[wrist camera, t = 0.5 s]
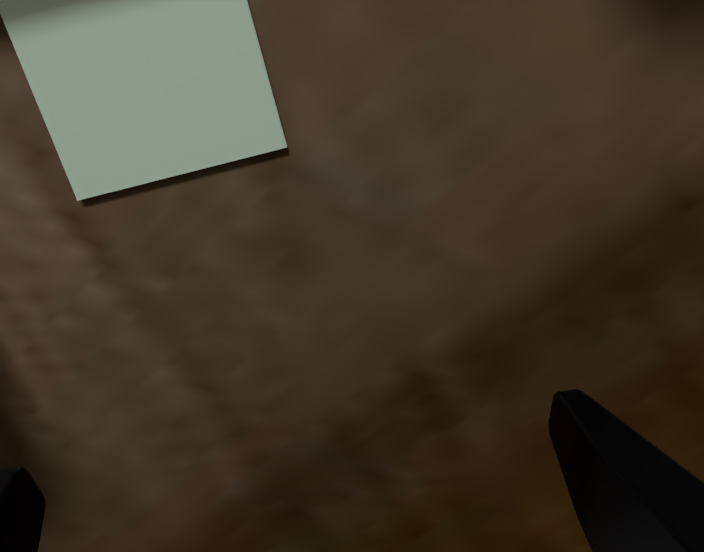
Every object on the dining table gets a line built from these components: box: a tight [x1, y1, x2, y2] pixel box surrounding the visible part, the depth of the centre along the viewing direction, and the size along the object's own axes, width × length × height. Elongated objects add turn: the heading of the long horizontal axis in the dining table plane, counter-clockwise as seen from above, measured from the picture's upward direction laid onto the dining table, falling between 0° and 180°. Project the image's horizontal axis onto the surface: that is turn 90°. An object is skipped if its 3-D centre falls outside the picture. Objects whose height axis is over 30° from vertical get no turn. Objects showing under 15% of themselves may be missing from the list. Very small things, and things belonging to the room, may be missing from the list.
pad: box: [0, 0, 287, 201], centre depth 20 cm, size 8×8×1 cm
